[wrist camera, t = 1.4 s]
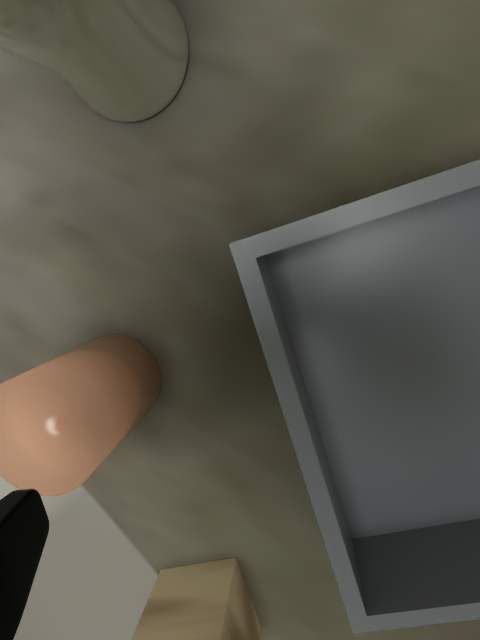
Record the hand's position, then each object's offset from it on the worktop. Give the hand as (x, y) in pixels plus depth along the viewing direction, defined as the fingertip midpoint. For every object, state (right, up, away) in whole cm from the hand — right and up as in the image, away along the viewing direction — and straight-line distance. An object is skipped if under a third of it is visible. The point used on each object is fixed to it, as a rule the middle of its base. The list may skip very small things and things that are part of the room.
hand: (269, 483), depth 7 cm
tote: (+9, +1, +12) cm, 14 cm away
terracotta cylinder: (-7, 0, +14) cm, 16 cm away
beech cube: (-2, -14, +16) cm, 22 cm away
